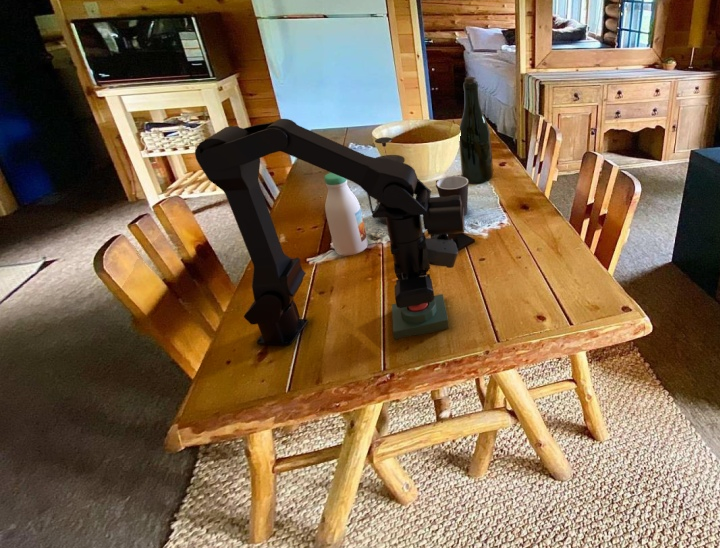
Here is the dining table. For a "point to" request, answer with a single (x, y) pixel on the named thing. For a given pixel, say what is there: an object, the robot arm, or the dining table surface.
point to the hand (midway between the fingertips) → (417, 303)
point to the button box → (420, 319)
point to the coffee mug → (454, 188)
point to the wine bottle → (474, 138)
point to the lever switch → (460, 240)
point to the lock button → (418, 307)
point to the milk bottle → (344, 217)
